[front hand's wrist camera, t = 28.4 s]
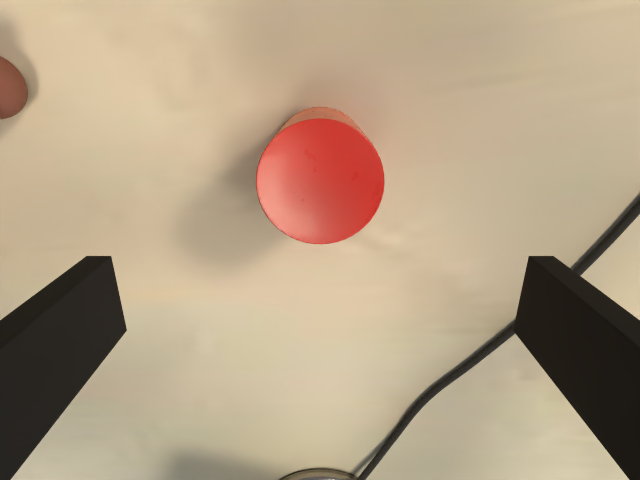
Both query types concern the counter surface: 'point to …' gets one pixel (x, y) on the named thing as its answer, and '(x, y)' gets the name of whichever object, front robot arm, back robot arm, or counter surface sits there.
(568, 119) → the counter surface
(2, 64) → the figurine character
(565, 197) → the counter surface
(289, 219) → the tin
